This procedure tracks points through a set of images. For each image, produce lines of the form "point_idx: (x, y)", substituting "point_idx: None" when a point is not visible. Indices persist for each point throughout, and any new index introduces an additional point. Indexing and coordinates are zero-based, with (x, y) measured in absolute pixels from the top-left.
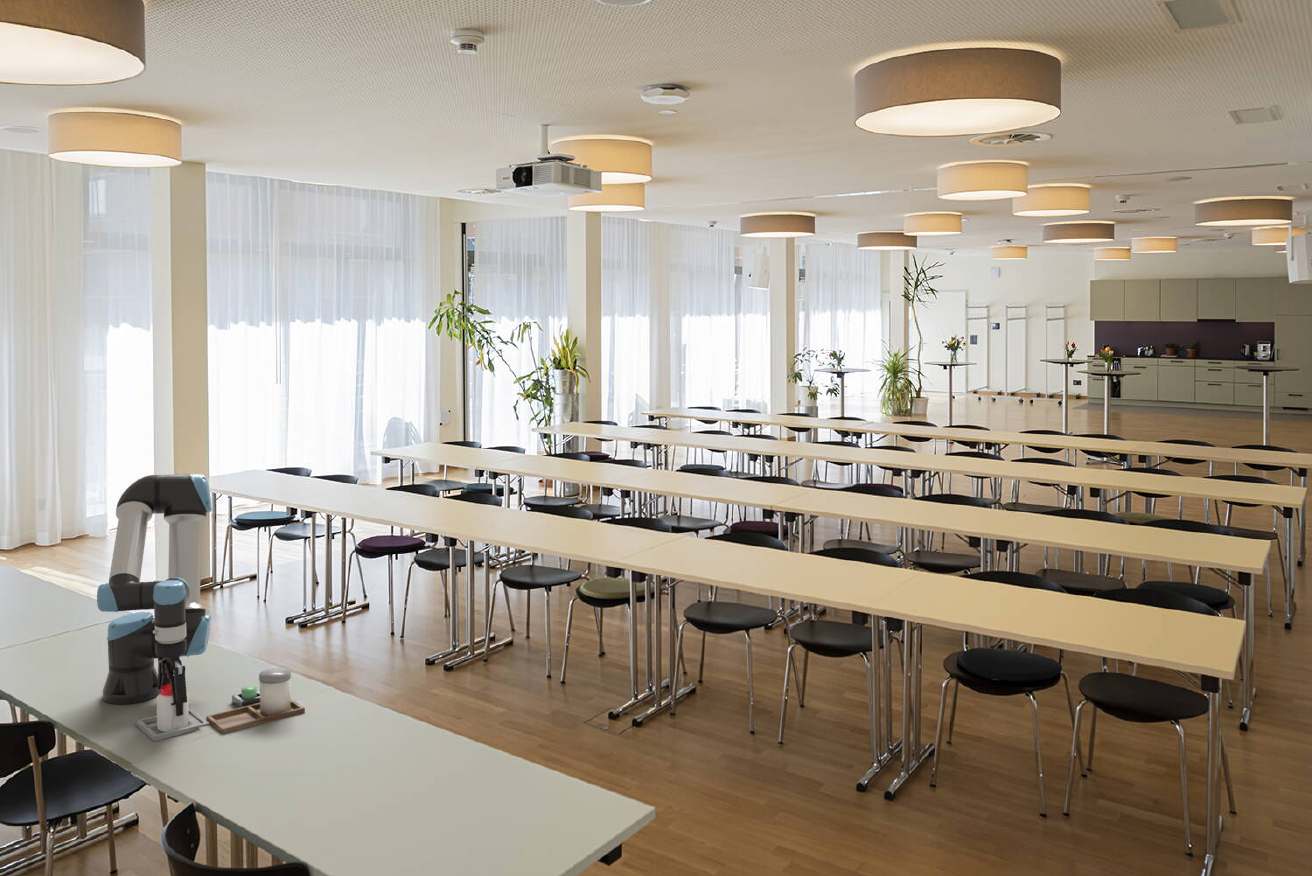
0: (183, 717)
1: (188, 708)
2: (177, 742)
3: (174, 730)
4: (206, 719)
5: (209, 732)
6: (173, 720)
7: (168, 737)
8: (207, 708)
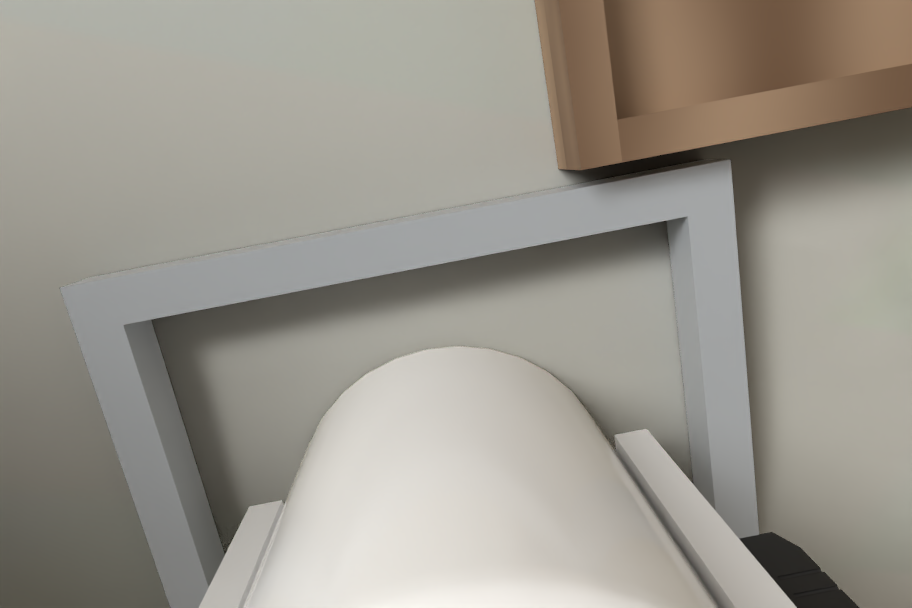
0: (688, 488)
1: (520, 426)
2: (897, 500)
3: None
4: (570, 168)
5: (847, 187)
6: None
7: None
8: (49, 65)
